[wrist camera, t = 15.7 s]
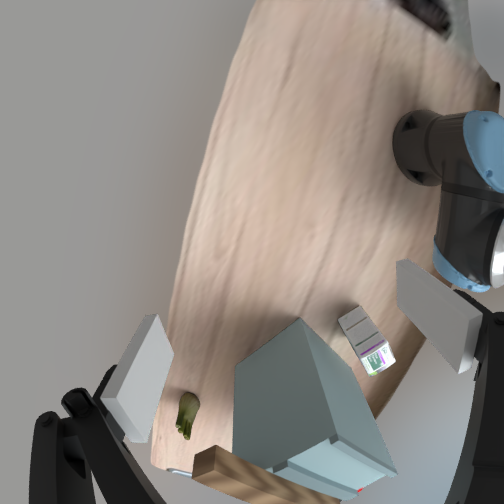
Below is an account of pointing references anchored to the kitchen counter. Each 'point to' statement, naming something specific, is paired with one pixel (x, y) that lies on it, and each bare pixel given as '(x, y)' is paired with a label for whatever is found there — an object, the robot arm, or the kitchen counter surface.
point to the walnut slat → (250, 480)
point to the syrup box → (367, 341)
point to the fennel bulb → (187, 414)
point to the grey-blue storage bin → (307, 416)
